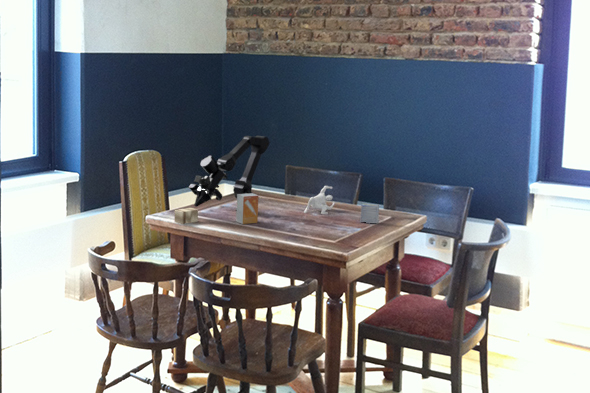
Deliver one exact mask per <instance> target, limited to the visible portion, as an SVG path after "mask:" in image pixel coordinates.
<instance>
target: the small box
mask: <svg viewBox="0 0 590 393" xmlns="http://www.w3.org/2000/svg"><path fill="white" fill-rule="evenodd" d="M236 210H237V211H236V215H235V216H236V220H235V221H236V222H237V223H239V224H241V225H246V224H256V223H258V222H259V221H258V220H259V219H258V218H259V195H258V194H256V193H253V192H252V193H247V194H237V198H236Z"/></svg>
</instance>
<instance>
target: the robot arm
mask: <svg viewBox="0 0 590 393" xmlns="http://www.w3.org/2000/svg"><path fill="white" fill-rule="evenodd" d="M269 146H270V141H269V138H268V137H267V136H264V135H263V136H261V135H256V136H251V135H245V136H243V137H242V140H240V141H239V143H238V144H237V145H236V146H234V147H233V149H232V150H230V152H229V153H227V154H224V155H223V156H222V157H219V158H218V160H216V159H215V158H214V156H213V155H208V156H207V157H205V158H204V159H201V161H200V166H201V168H203V170H205V172H206V173H207V174H209V176H208V175H205V176H201V175H195V178H194V181H193V183H190V185H189V186H188V189H189V190H190V191H191V192H192V193H193V194H194V195H195V196H196V197H195V202H194V207H196V208H197V207H199V206H201V205H203V204H204V203H206V202H209V201H211V200H212V197H214V196H215V200H216V201H220V202H221V200H222V199H223V194H222V193H221V192H220V191H219V187H220V185H219V184H220V183H221V181H222V180H223V179H225V180H228V173H227V172H231V171H233V169H234V168H235V166H236V164H237V161H238V159H240V158H241V156H242V155H243V154H244V153H245V152H246V151H248V150H249V148H250V147H251V153H250V155H249V158H248V160H247V162H246V163H247V164H246V166H245V168H244V172H243V174H242V176H241V178H240V179H236V180H235V183H234V185H233V187H232V188H233V190H232V191H233V194H234V196H235V199H237V194H247V193H253V192H252V188H253V186H252V181H253V178H254V175H255V172H256V170H257V167H258V164H259V162H260V160H261V157H262V155H263V154H264V153H265V152H266V151H267V150H268V148H269ZM224 171H225V172H224ZM195 183H197V184H195ZM235 211H236V212H237V209H235Z"/></svg>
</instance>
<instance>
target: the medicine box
mask: <svg viewBox="0 0 590 393" xmlns="http://www.w3.org/2000/svg"><path fill="white" fill-rule="evenodd" d="M379 215H380V204H372V203H362V204H361V206H360V220H359V222H360V223H361V222H366V223H365V224H370V223H377V224H378V223H379V217H380V216H379Z"/></svg>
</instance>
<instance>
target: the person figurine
mask: <svg viewBox="0 0 590 393" xmlns="http://www.w3.org/2000/svg"><path fill="white" fill-rule="evenodd" d="M327 189H330V190H333V186H329V185H324V186H323V188H322V189H321V190H320V192H319V193H318V194H317V195H316V196H311V197H310V198H309V200H308V202H307V206H306V208H305V209H304V210H303V213H304V214H307V212H308V211H309V208H310V207H311V208H312V209H316V210H321V212H320V215H326V216H327V215H328V214H329V212H328V211H331V210H332V208H333V207H334V206H335V205H336V202H335V201H333V202H331V203H332V205H330V206H329V205H327V201H331V200H333V195H330V194H328V195H325V192H326V191H327Z"/></svg>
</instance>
